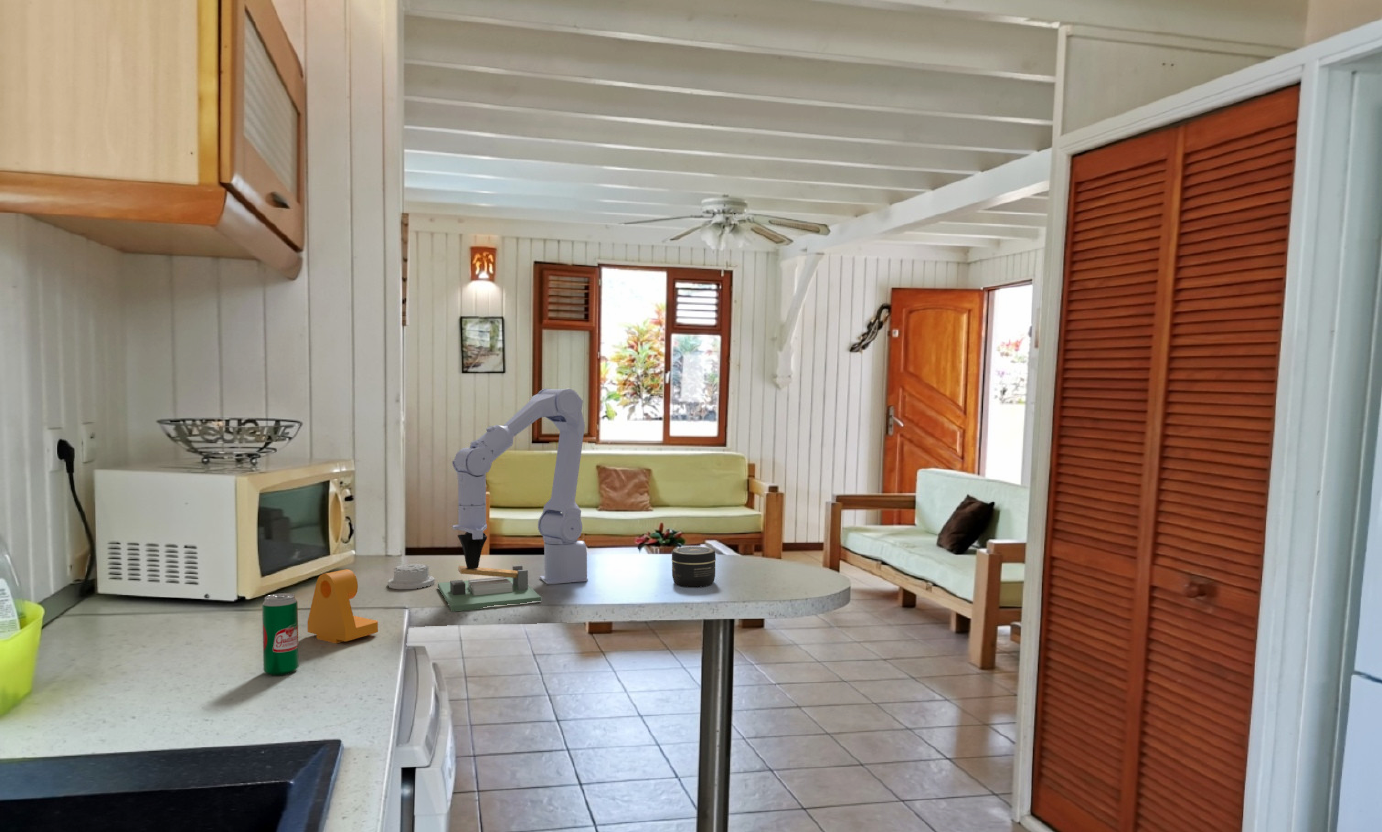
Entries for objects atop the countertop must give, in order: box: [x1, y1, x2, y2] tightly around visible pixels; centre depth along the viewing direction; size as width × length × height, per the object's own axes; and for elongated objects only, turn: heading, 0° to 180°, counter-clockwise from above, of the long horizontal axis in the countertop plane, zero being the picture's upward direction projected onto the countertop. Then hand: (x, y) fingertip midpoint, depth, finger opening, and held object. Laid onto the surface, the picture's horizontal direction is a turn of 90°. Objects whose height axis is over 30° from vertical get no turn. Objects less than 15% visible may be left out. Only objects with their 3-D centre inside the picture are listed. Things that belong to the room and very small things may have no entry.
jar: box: [671, 546, 717, 589], centre depth 202 cm, size 10×10×8 cm
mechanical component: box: [387, 563, 435, 590], centre depth 201 cm, size 10×4×10 cm
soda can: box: [261, 592, 300, 677], centre depth 140 cm, size 5×5×12 cm
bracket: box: [306, 568, 379, 644], centre depth 160 cm, size 11×7×12 cm, turn 58°
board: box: [437, 564, 542, 613], centre depth 191 cm, size 18×22×5 cm
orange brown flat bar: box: [457, 565, 518, 578], centre depth 191 cm, size 14×4×1 cm, turn 113°
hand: (472, 568), depth 189 cm, fingers closed, pressing on orange brown flat bar
